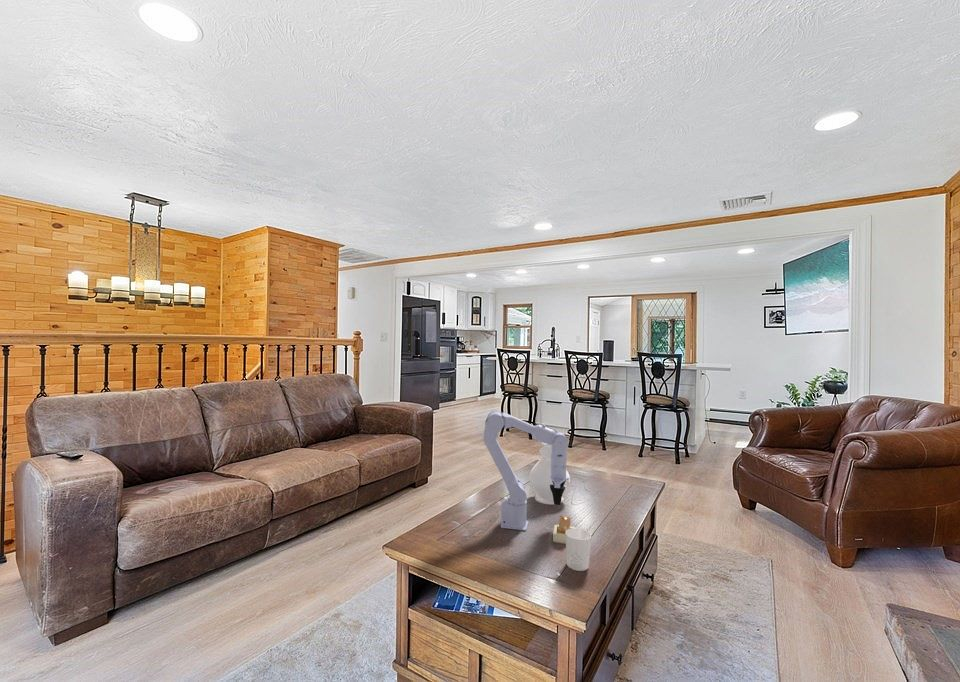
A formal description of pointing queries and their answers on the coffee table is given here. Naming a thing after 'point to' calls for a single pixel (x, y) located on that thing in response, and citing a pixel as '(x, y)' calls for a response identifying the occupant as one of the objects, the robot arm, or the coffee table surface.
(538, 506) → the coffee table surface
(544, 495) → the decorative vase
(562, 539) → the cream square tray
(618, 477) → the coffee table surface
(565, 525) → the brown cylinder
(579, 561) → the white cup
